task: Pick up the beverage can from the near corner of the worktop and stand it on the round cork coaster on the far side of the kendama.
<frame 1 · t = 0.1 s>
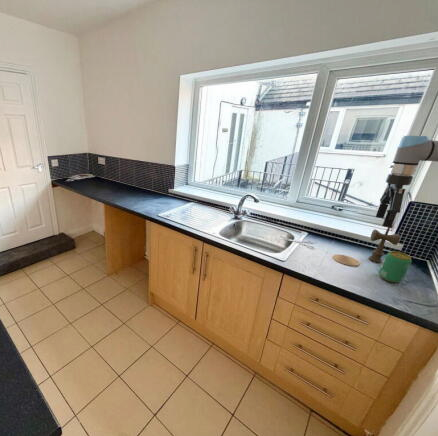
hand: (382, 221, 108), 25 cm above the counter, tool pointing down, fingers open, 13 cm apart
kendama: (374, 261, 125), on the counter
scissors: (297, 242, 144), on the counter
cork coaster: (345, 260, 125), on the counter
beverage can: (389, 278, 111), on the counter
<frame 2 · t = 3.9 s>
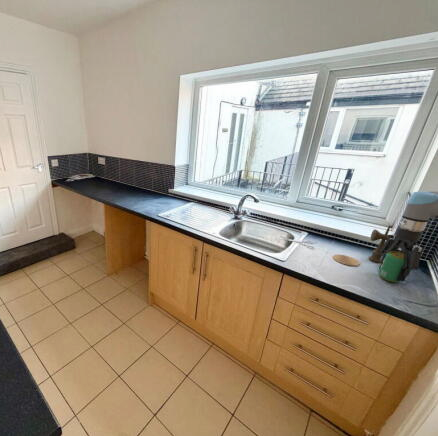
hand: (391, 274, 110), 2 cm above the counter, tool pointing down, fingers closed on beverage can, 8 cm apart
beverage can: (389, 277, 111), on the counter, touching gripper
everything else where it was.
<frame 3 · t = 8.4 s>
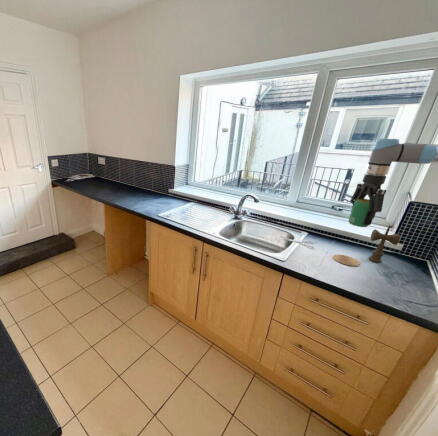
hand: (359, 221, 117), 22 cm above the counter, tool pointing down, fingers closed on beverage can, 8 cm apart
beverage can: (357, 224, 118), point 20 cm above the counter, touching gripper
everything else where it was.
when the fingers open (2 cm above the counter, at t = 13.0 s): beverage can stays where it is, resting on cork coaster.
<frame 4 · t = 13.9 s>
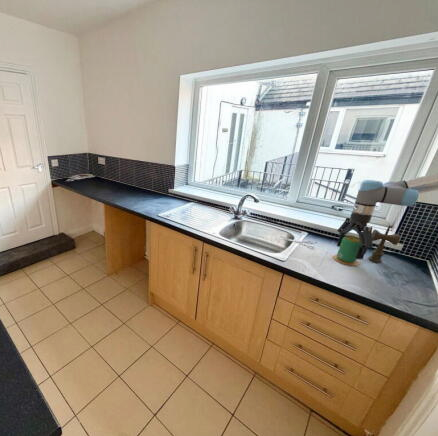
hand: (348, 252, 124), 5 cm above the counter, tool pointing down, fingers open, 13 cm apart
beverage can: (345, 259, 125), resting on cork coaster
everything else where it was.
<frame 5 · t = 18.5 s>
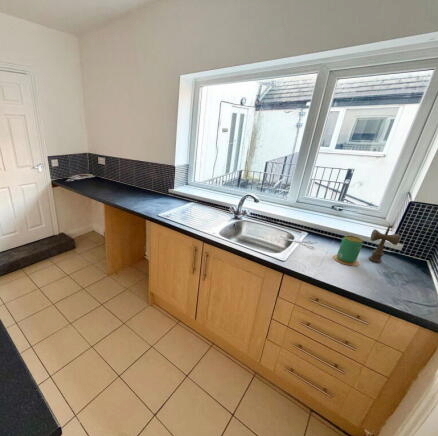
nothing on the counter moved.
at the end: beverage can inside the target area (0.3 cm from its centre), resting on cork coaster; beverage can tilted 3°; kendama moved 0.8 cm from its start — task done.
